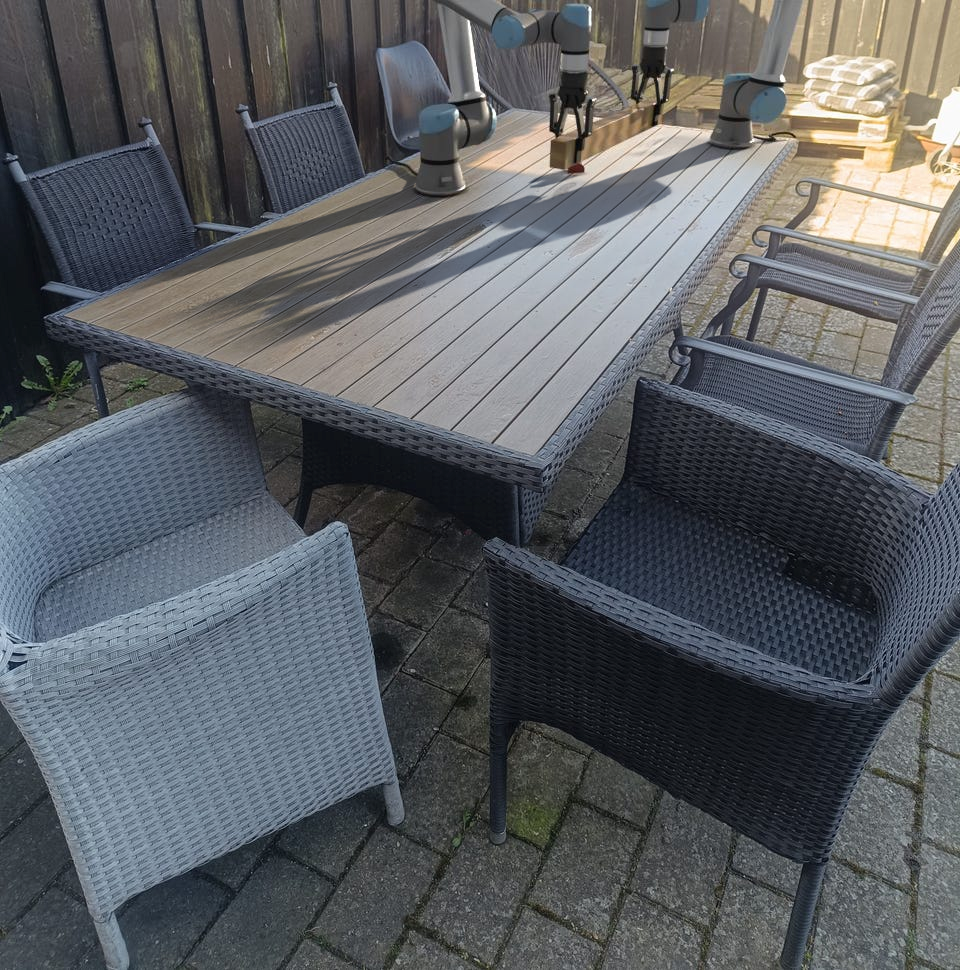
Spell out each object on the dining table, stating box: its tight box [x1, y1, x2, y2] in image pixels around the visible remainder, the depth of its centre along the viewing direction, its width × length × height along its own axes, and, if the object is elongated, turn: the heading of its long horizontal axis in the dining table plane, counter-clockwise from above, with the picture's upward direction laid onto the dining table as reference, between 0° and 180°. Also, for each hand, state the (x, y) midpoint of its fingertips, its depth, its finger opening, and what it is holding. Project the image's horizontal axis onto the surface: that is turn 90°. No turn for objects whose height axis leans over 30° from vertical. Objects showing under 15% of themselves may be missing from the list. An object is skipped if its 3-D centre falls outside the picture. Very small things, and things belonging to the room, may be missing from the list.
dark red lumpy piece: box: [566, 161, 586, 175], centre depth 273 cm, size 6×4×8 cm
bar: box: [549, 97, 665, 170], centre depth 256 cm, size 68×5×7 cm, turn 147°
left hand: (568, 160), depth 239 cm, fingers closed on bar, 5 cm apart
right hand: (647, 124), depth 276 cm, fingers closed on bar, 5 cm apart
